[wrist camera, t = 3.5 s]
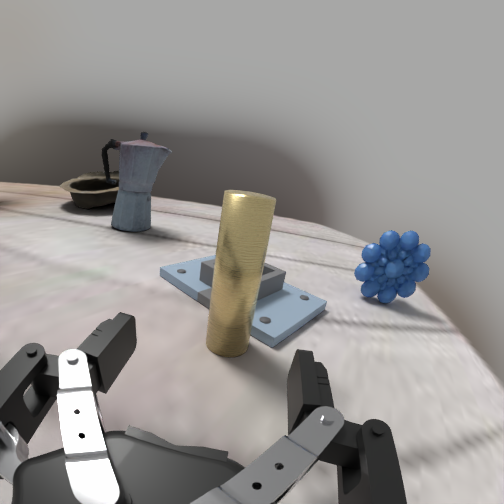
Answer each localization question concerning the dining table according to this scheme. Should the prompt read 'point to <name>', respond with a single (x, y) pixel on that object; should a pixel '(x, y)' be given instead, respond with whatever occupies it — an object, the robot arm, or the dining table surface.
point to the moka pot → (134, 181)
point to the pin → (238, 270)
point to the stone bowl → (93, 189)
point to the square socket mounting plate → (268, 302)
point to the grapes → (393, 266)
